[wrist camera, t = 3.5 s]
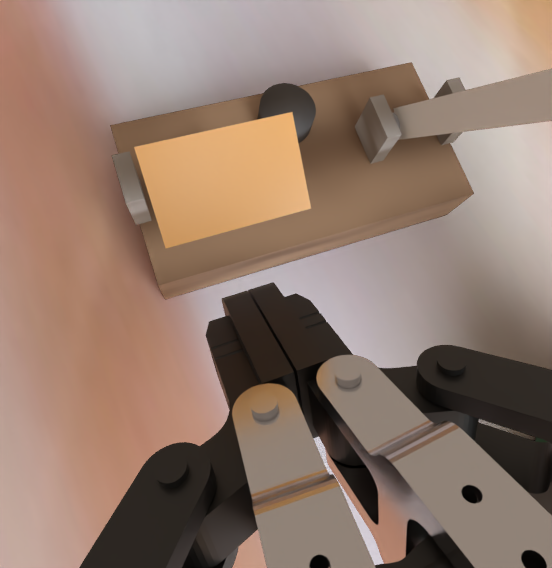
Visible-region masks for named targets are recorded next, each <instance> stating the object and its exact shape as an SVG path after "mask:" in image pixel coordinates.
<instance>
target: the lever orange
mask: <svg viewBox="0 0 552 568" xmlns="http://www.w3.org/2000/svg"><path fill="white" fill-rule="evenodd" d="M134 149H135V152H136V155H137V158H138V161H139V165H140V168H141V171H142V174H143V177H144V181H145V184H146V187H147V190H148V193H149V197H150V200H151V203H152V206H153V209H154V213H155V216H156V219H157V222H158V226H159V229H160V232H161V235H162V238H163V242H164V245H165V248H170V247H173V246H177V245H181V244H184V243H188V242H191V241H195V240H199V239H202V238H206V237H210V236H213V235H217V234H220V233H224V232H228V231H231V230H235V229H239V228H242V227H246V226H250V225H253V224H257V223H260V222H264V221H268V220H271V219H275V218H279V217H282V216H286V215H289V214H293V213H297V212H300V211H304V210H308V209H311V205H310V200H309V195H308V190H307V184H306V179H305V174H304V169H303V164H302V159H301V154H300V149H299V144H298V139H297V133H296V128H295V123H294V118H293V113H292V112H289V113H285V114H280V115H276V116H271V117H267V118H262V119H258V120H253V121H249V122H244V123H240V124H235V125H231V126H226V127H222V128H217V129H213V130H208V131H204V132H199V133H195V134H190V135H186V136H181V137H177V138H172V139H168V140H163V141H159V142H154V143H150V144H145V145H141V146H136V147H134Z"/></svg>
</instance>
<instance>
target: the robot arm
mask: <svg viewBox="0 0 552 568" xmlns="http://www.w3.org/2000/svg"><path fill="white" fill-rule="evenodd" d="M222 303H223V308H224V311H225V315H226V316H225V317H222V318H219V319H216V320H213V321H210V322H209V325H208V329H207V332H206V338H207V341H208V344H209V348H210V351H211V355H212V358H213V361H214V365H215V368H216V372H217V375H218V378H219V381H220V384H221V387H222V389H223V392H224V395H225V398H226V401H227V404H228V407H229V410H230V411H229V416H228V418H227V421H226V422H225V424H224V426H223V427H222V428H221V430H220V431H219V432H218V433H217V434H216V435H214V436H213V437H212V438H211V439H209V440H208V441H206V442H205V443H204V444H202V445H201V446H200V447H199V446H198V445H196V444H192V443H186V442H184V443H175V444H172V445H169V446H166V447H164V448H162V449H160V450H159V451H157V452H156V453H155V454H153V455H152V456H151V457H150V458H149V459H148V460H147V461H146V463H145V464H144V465H143V467H142V468H141V470H140V472H139V473H138V475H137V476H136V478H135V480H134V481H133V483H132V484H131V486H130V488H129V489H128V491H127V492H126V494H125V496H124V497H123V499H122V500H121V502H120V504H119V505H118V507H117V508H116V510H115V511H114V513H113V515H112V516H111V518H110V519H109V521H108V523H107V524H106V526H105V527H104V529H103V531H102V532H101V534H100V535H99V537H98V539H97V540H96V542H95V543H94V545H93V547H92V548H91V550H90V551H89V553H88V555H87V556H86V558H85V559H84V561H83V563H82V564H81V566H80V567H79V568H232V567H233V564H234V561H235V559H236V555H237V552H238V546H240V545H241V544H242V543H243V542H244V541H245V540H246V539H247V538H248V537H250V536H251V535H252V534H253V533H254V532H255V531H256V530H257V529H258V531H259V536H260V540H261V544H262V548H263V553H264V557H265V561H266V565H267V568H552V370H549V369H545V368H541V367H537V366H533V365H530V364H526V363H522V362H518V361H514V360H510V359H506V358H502V357H498V356H494V355H490V354H486V353H482V352H478V351H474V350H470V349H466V348H462V347H458V346H453V345H439V346H434V347H431V348H429V349H427V350H425V351H424V352H423V353H422V354H421V355H420V356H419V358H418V361H417V366H411V367H401V368H378V367H377V366H376V365H375V364H374V363H372V362H371V361H370V360H368V359H366V358H364V357H361V356H357V355H353V354H352V353H351V351H350V350H349V349H348V348H347V346H346V345H345V344H344V343H343V341H342V340H341V339H340V338H339V336H338V335H337V334H336V333H335V331H334V330H333V329H332V327H331V326H330V325H329V324H328V322H327V323H326V320H325V319H324V317H323V316H322V315H321V314H319V311H318V310H317V308H316V307H315V306H314V305H313V303H312V302H311V301H310V300H308V299H306V298H304V297H302V296H300V295H298V294H293V295H290V296H287V297H284V296H283V295H282V293H281V292H280V291H279V289H278V288H277V286H276V285H275V284H274V283H270V284H267V285H263V286H260V287H257V288H254V289H251V290H248V291H244V292H241V293H238V294H235V295H232V296H228V297H225V298H222ZM479 419H482V420H485V421H488V422H491V423H494V424H497V425H500V426H503V427H506V428H509V429H513V430H516V431H519V432H522V433H525V434H528V435H531V436H534V437H537V438H540V439H543V440H545V441H547V442H536V441H532V440H529V439H526V438H523V437H520V436H517V435H514V434H511V433H508V432H505V431H502V430H499V429H496V428H493V427H490V426H487V425H484V424H481V423H478V421H479ZM318 436H319V437H320V439H321V441H322V443H323V445H324V446H325V451H326V459H327V463H328V465H329V467H330V468H331V470H332V471H333V473H334V475H335V476H336V478H337V479H338V481H339V482H340V484H341V486H342V487H343V489H344V490H345V492H346V493H347V495H348V497H349V498H350V500H351V501H352V503H353V504H354V506H355V507H356V509H357V511H358V512H359V514H360V515H361V517H362V518H363V520H364V522H365V523H366V525H367V526H368V528H369V529H370V531H371V533H372V535H373V537H374V539H375V541H376V543H377V546H378V549H379V552H380V555H381V557H382V560H383V562H384V564H380V565H374V563H373V560H372V558H371V556H370V554H369V551H368V549H367V547H366V544H365V542H364V540H363V538H362V535H361V533H360V531H359V528H358V526H357V524H356V522H355V519H354V517H353V515H352V512H351V510H350V508H349V506H348V503H347V501H346V499H345V496H344V494H343V492H342V490H341V487H340V485H339V483H338V481H337V480H336V478H335V477H334V475H332V474H331V475H329V473H328V472H327V470H326V467H325V465H324V463H323V460H322V458H321V456H320V453H319V451H318V449H317V446H316V444H315V441H314V439H313V438H316V437H318Z"/></svg>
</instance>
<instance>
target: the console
mask: <svg viewBox="0 0 552 568" xmlns="http://www.w3.org/2000/svg"><path fill="white" fill-rule="evenodd" d="M461 91H465V88H464V86H463V84H462V82H461V80H460V78H455V79H451V80H447V81H446V82H445V83H444V85H443V86H442V87H441V89H440V90H439V91H438V93H437V94H436V96H435V97H434V98H437V97H441V96H445V95H449V94H453V93H457V92H461ZM425 100H429V98H428V96H427V94H426V92H425V89H424V87H423V85H422V83H421V81H420V79H419V77H418V75H417V73H416V71H415V68H414V66H413V64H412V62H411V63H406V64H401V65H397V66H392V67H387V68H382V69H377V70H373V71H368V72H363V73H358V74H354V75H349V76H344V77H339V78H334V79H330V80H325V81H320V82H315V83H311V84H306V85H301V86H296V85H293V84H287V83H282V84H277V85H274V86H272V87H270V88H268V89H267V90H266V91H265V92H264V93H263V94H258V95H253V96H248V97H244V98H239V99H234V100H229V101H225V102H220V103H215V104H210V105H205V106H201V107H196V108H191V109H186V110H182V111H177V112H172V113H167V114H162V115H158V116H153V117H148V118H143V119H139V120H134V121H129V122H124V123H119V124H115V125H110V126H111V129H112V133H113V136H114V139H115V143H116V146H117V149H118V153H119V154H115V155H112V158H113V162H114V165H115V168H116V172H117V175H118V179H119V182H120V185H121V189H122V192H123V196H124V199H125V202H126V205H127V207H128V209H129V211H130V214H131V216H132V218H133V220H134V222H135V225H137V224H140V226H141V230H142V233H143V236H144V240H145V243H146V246H147V250H148V253H149V256H150V260H151V263H152V267H153V270H154V273H155V277H156V280H157V283H158V286H159V288H160V290H161V292H162V294H163V296H164V298H165V299H168V298H172V297H175V296H178V295H182V294H185V293H188V292H192V291H195V290H198V289H202V288H205V287H208V286H212V285H215V284H218V283H222V282H225V281H228V280H232V279H235V278H238V277H242V276H245V275H248V274H251V273H255V272H258V271H261V270H265V269H268V268H271V267H275V266H278V265H281V264H285V263H288V262H291V261H295V260H298V259H301V258H305V257H308V256H311V255H315V254H318V253H321V252H325V251H328V250H331V249H335V248H338V247H341V246H345V245H348V244H351V243H355V242H358V241H361V240H365V239H368V238H371V237H375V236H378V235H381V234H385V233H388V232H391V231H395V230H398V229H401V228H405V227H408V226H411V225H415V224H418V223H421V222H425V221H428V220H431V219H435V218H438V217H441V216H445V215H447V214H448V213H450V212H451V211H452V210H453V209H455V208H456V207H457V206H459V205H460V204H461V203H462V202H464V201H465V200H466V199H467V198H469V197H470V196H471V195H472V194H474V192H473V190H472V188H471V186H470V184H469V182H468V180H467V178H466V175H465V173H464V171H463V169H462V167H461V165H460V163H459V161H458V159H457V157H456V154H455V152H454V150H453V148H452V146H451V144H450V143H453V142H454V141H455V140H456V139H457V138H458V136H459V135H460V134H461V133H462V132H457V133H449V134H441V135H433V136H425V137H417V138H408V139H400V140H398V139H399V138H400V136H401V135H402V134H401V132H400V129H399V127H398V125H397V123H396V121H395V118H394V116H393V114H392V113H394V108H397V107H401V106H405V105H409V104H413V103H417V102H421V101H425ZM289 112H292V113H293V118H294V123H295V128H296V133H297V139H298V144H299V149H300V154H301V159H302V164H303V169H304V174H305V179H306V184H307V190H308V195H309V200H310V205H311V209H308V210H304V211H300V212H297V213H293V214H289V215H286V216H282V217H279V218H275V219H271V220H268V221H264V222H260V223H257V224H253V225H250V226H246V227H242V228H239V229H235V230H231V231H228V232H224V233H220V234H217V235H213V236H210V237H206V238H202V239H199V240H195V241H191V242H188V243H184V244H181V245H177V246H173V247H170V248H165V245H164V242H163V238H162V235H161V232H160V229H159V226H158V222H157V219H156V216H155V213H154V209H153V206H152V203H151V200H150V197H149V193H148V190H147V187H146V184H145V181H144V177H143V174H142V171H141V168H140V165H139V161H138V158H137V155H136V152H135V149H134V147H136V146H141V145H145V144H150V143H154V142H159V141H163V140H168V139H172V138H177V137H181V136H186V135H190V134H195V133H199V132H204V131H208V130H213V129H217V128H222V127H226V126H231V125H235V124H240V123H244V122H249V121H253V120H258V119H262V118H267V117H271V116H276V115H280V114H285V113H289Z"/></svg>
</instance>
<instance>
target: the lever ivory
mask: <svg viewBox="0 0 552 568" xmlns="http://www.w3.org/2000/svg"><path fill="white" fill-rule="evenodd" d="M392 114H393V116H394V118H395V121H396V123H397V125H398V127H399V129H400V132H401V134H402V135H401V136H400V138H399V139H398V140H400V139H408V138H417V137H425V136H433V135H441V134H449V133H457V132H465V131H474V130H482V129H490V128H498V127H506V126H514V125H522V124H530V123H539V122H547V121H552V69H548V70H544V71H540V72H536V73H532V74H528V75H524V76H520V77H516V78H512V79H509V80H505V81H501V82H497V83H493V84H489V85H485V86H481V87H477V88H473V89H469V90H465V91H461V92H457V93H453V94H449V95H445V96H441V97H437V98H433V99H429V100H425V101H421V102H417V103H413V104H409V105H405V106H401V107H397V108H394V113H392Z"/></svg>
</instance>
